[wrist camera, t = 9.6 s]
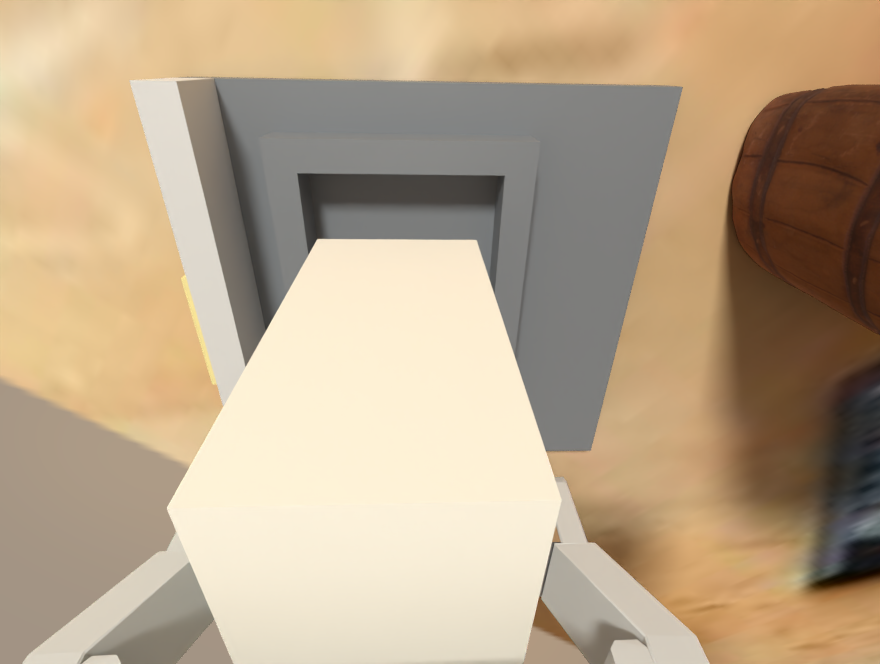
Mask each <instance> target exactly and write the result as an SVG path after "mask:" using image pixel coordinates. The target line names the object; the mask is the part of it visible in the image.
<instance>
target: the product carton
mask: <svg viewBox="0 0 880 664" xmlns="http://www.w3.org/2000/svg"><path fill="white" fill-rule="evenodd" d="M561 501H562V499H561V496H560V493H559V490H558V487H557V484H556V481H555V478H554V475H553V472H552V469H551V466H550V463H549V460H548V457H547V454H546V450H545V447H544V444H543V441H542V438H541V435H540V432H539V429H538V426H537V423H536V420H535V417H534V414H533V411H532V408H531V405H530V402H529V399H528V396H527V393H526V389H525V386H524V383H523V380H522V377H521V374H520V371H519V368H518V365H517V362H516V359H515V356H514V353H513V350H512V347H511V344H510V341H509V338H508V335H507V331H506V328H505V325H504V322H503V319H502V316H501V313H500V310H499V307H498V304H497V301H496V298H495V295H494V292H493V289H492V286H491V283H490V280H489V277H488V274H487V270H486V267H485V264H484V261H483V258H482V255H481V252H480V249H479V246H478V243H477V240H409V239H317V241H316V243H315V244H314V246H313V248H312V250H311V251H310V253H309V255H308V257H307V259H306V260H305V262H304V264H303V266H302V268H301V269H300V271H299V273H298V275H297V276H296V278H295V280H294V282H293V284H292V285H291V287H290V289H289V291H288V293H287V294H286V296H285V298H284V300H283V301H282V303H281V305H280V307H279V309H278V310H277V312H276V314H275V316H274V318H273V319H272V321H271V323H270V325H269V326H268V328H267V330H266V332H265V334H264V335H263V337H262V339H261V341H260V342H259V344H258V346H257V348H256V350H255V351H254V353H253V355H252V357H251V359H250V360H249V362H248V364H247V366H246V367H245V369H244V371H243V373H242V375H241V376H240V378H239V380H238V382H237V384H236V385H235V387H234V389H233V391H232V392H231V394H230V396H229V398H228V400H227V401H226V403H225V405H224V407H223V409H222V410H221V412H220V414H219V416H218V417H217V419H216V421H215V423H214V425H213V426H212V428H211V430H210V432H209V434H208V435H207V437H206V439H205V441H204V442H203V444H202V446H201V448H200V450H199V451H198V453H197V455H196V457H195V458H194V460H193V462H192V464H191V466H190V467H189V469H188V471H187V473H186V475H185V476H184V478H183V480H182V482H181V483H180V485H179V487H178V489H177V491H176V493H175V494H174V496H173V498H172V500H171V501H170V503H169V505H168V507H167V511H168V513H169V515H170V517H171V520H172V522H173V524H174V527H175V529H176V531H177V534H178V536H179V538H180V541H181V543H182V545H183V548H184V550H185V552H186V555H187V557H188V559H189V562H190V564H191V566H192V568H193V571H194V573H195V575H196V578H197V580H198V582H199V585H200V587H201V589H202V592H203V594H204V596H205V599H206V601H207V603H208V606H209V608H210V610H211V613H212V615H213V617H214V619H215V622H216V624H217V626H218V629H219V631H220V633H221V636H222V638H223V640H224V643H225V645H226V647H227V650H228V652H229V654H230V657H231V659H232V661H233V664H523V663H524V659H525V655H526V650H527V646H528V642H529V637H530V633H531V629H532V625H533V621H534V616H535V612H536V608H537V603H538V599H539V595H540V591H541V586H542V582H543V578H544V574H545V569H546V565H547V561H548V556H549V552H550V548H551V544H552V539H553V535H554V531H555V527H556V522H557V518H558V514H559V509H560V505H561Z"/></svg>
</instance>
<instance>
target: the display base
mask: <svg viewBox="0 0 880 664" xmlns="http://www.w3.org/2000/svg"><path fill="white" fill-rule="evenodd" d="M129 81H130V84H131V88H132V91H133V95H134V98H135V102H136V105H137V108H138V112H139V115H140V119H141V122H142V126H143V129H144V133H145V136H146V140H147V143H148V147H149V150H150V154H151V157H152V161H153V164H154V167H155V171H156V174H157V178H158V181H159V185H160V188H161V192H162V195H163V199H164V202H165V206H166V209H167V213H168V216H169V220H170V223H171V227H172V230H173V233H174V237H175V240H176V244H177V247H178V251H179V254H180V258H181V261H182V265H183V268H184V272H185V275H184V276H183V277H182V278H181V280H182V284H183V287H184V290H185V294H186V297H187V300H188V304H189V307H190V311H191V314H192V317H193V321H194V324H195V328H196V331H197V334H198V338H199V341H200V345H201V348H202V351H203V355H204V358H205V362H206V365H207V368H208V372H209V375H210V379H211V382H212V384H217V386H218V390H219V393H220V397H221V400H222V404H223V407H224V405H225V403H226V401H227V400H228V398H229V396H230V394H231V392H232V391H233V389H234V387H235V385H236V384H237V382H238V380H239V378H240V376H241V375H242V373H243V371H244V369H245V367H246V366H247V364H248V362H249V360H250V359H251V357H252V355H253V353H254V351H255V350H256V348H257V346H258V344H259V342H260V341H261V339H262V337H263V335H264V334H265V332H266V330H267V328H268V326H269V325H270V323H271V321H272V319H273V318H274V316H275V314H276V312H277V310H278V309H279V307H280V305H281V303H282V301H283V300H284V298H285V296H286V294H287V293H288V291H289V289H290V287H291V285H292V284H293V282H294V280H295V278H296V276H297V275H298V273H299V271H300V269H301V268H302V266H303V264H304V262H305V260H306V259H307V257H308V255H309V253H310V251H311V250H312V248H313V246H314V244H315V243H316V241H317V239H409V240H477V243H478V246H479V249H480V252H481V255H482V258H483V261H484V264H485V267H486V270H487V274H488V277H489V280H490V283H491V286H492V289H493V292H494V295H495V298H496V301H497V304H498V307H499V310H500V313H501V316H502V319H503V322H504V325H505V328H506V331H507V335H508V338H509V341H510V344H511V347H512V350H513V353H514V356H515V359H516V362H517V365H518V368H519V371H520V374H521V377H522V380H523V383H524V386H525V389H526V393H527V396H528V399H529V402H530V405H531V408H532V411H533V414H534V417H535V420H536V423H537V426H538V429H539V432H540V435H541V438H542V441H543V444H544V447H545V450H546V451H588V450H591V447H592V443H593V439H594V435H595V431H596V427H597V423H598V419H599V416H600V412H601V408H602V404H603V400H604V396H605V392H606V388H607V384H608V380H609V376H610V372H611V368H612V364H613V360H614V356H615V352H616V348H617V344H618V341H619V337H620V333H621V329H622V325H623V321H624V317H625V313H626V309H627V305H628V301H629V297H630V293H631V289H632V285H633V281H634V277H635V273H636V269H637V266H638V262H639V258H640V254H641V250H642V246H643V242H644V238H645V234H646V230H647V226H648V222H649V218H650V214H651V210H652V206H653V202H654V198H655V194H656V191H657V187H658V183H659V179H660V175H661V171H662V167H663V163H664V159H665V155H666V151H667V147H668V143H669V139H670V135H671V131H672V127H673V123H674V119H675V115H676V112H677V108H678V104H679V100H680V96H681V92H682V88H683V87H677V86H660V85H606V84H551V83H497V82H442V81H388V80H334V79H279V78H225V77H178V78H161V79H144V80H129Z"/></svg>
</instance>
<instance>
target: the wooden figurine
mask: <svg viewBox="0 0 880 664" xmlns="http://www.w3.org/2000/svg"><path fill="white" fill-rule="evenodd" d="M732 197H733V214H732V218H733V222H734V226H735V229H736V233H737V237H738V240H739V242H740V244H741V246H742V247H743V249H744V250H745V252H746V253H747V254H748V255H749V256H750V257H751V258H752V259H753V260H754V261H755V262H756V263H757V264H758V265H759V266H761V267H762V268H763V269H765V270H766V271H768V272H770V273H771V274H773V275H774V276H776V277H778V278H780V279H782V280H783V281H785V282H786V283H788V284H790V285H792V286H794V287H795V288H798V289H799V290H801V291H803V292H805V293H807V294H809V295H811V296H812V297H814V298H816V299H818V300H819V301H821V302H822V303H824V304H826V305H828V306H829V307H831V308H833V309H834V310H836V311H838V312H840V313H841V314H843V315H845V316H846V317H848V318H850V319H851V320H853V321H855V322H857V323H859V324H860V325H862V326H864V327H866V328H868V329H869V330H871V331H873V332H875V333H877V334H878V335H880V85H844V86H833V87H830V88H827V89H824V88H822V89H816V90H813V91H811V90H808V91H801V92H795V93H789V94H785V95H782V96H779V97H777V98H775V99H774V100H772V101H771V102H770V103H769V104H768V105H767V106H766V107H765V108H764V109H763V110H762V111H761V112H760V113H759V115H758V116H757V117H756V118H755V120H754V121H753V123H752V125H751V127H750V129H749V132H748V134H747V137H746V140H745V142H744V150H743V153H742V157H741V160H740V163H739V165H738V168H737V171H736V174H735V176H734V179H733V185H732Z"/></svg>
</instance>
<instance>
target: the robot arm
mask: <svg viewBox="0 0 880 664" xmlns="http://www.w3.org/2000/svg"><path fill="white" fill-rule="evenodd" d="M554 478H555V481H556V484H557V487H558V490H559V493H560V496H561V499H562V501H561V505H560V509H559V514H558V518H557V522H556V527H555V531H554V535H553V539H552V544H551V548H550V552H549V556H548V561H547V565H546V569H545V574H544V578H543V582H542V586H541V591H540V595H539V597H542V598H541V599H542V601H543V602H544V603H545V605H546V606H547V607H548V609H549V610H550V611H551V613H552V614H553V615H554V617H555V618H556V619H557V621H558V622H559V623H560V625H561V626H562V627H563V629H564V630H565V631H566V633H567V634H568V635H569V637H570V638H571V639H572V641H573V642H574V643H575V645H576V646H577V647H578V649H579V650H580V651H581V653H582V654H583V655H584V657H585V658H586V659H587V661H588V662H589V663H590V664H709V661H708V659H707V657H706V655H705V653H704V651H703V649H702V647H701V645H700V643H699V641H698V639H697V636H696V635H695V634H693V633H692V632H691V631H690V630H689V629H688V628H687V627H686V626H685V625H684V624H683V623H682V622H681V621H679V620H678V619H677V618H676V617H675V616H674V615H673V614H672V613H671V612H670V611H669V610H668V609H666V608H665V607H664V606H663V605H662V604H661V603H660V602H659V601H658V600H657V599H656V598H655V597H653V596H652V595H651V594H650V593H649V592H648V591H647V590H646V589H645V588H644V587H643V586H642V585H640V584H639V583H638V582H637V581H636V580H635V579H634V578H633V577H632V576H631V575H630V574H629V573H627V572H626V571H625V570H624V569H623V568H622V567H621V566H620V565H619V564H618V563H617V562H616V561H614V560H613V559H612V558H611V557H610V556H609V555H608V554H607V553H606V552H605V551H604V550H603V549H601V548H600V547H599V546H598V545H597V544H596V543H592V542H588V541H587V538H586V535H585V532H584V530H583V527H582V524H581V521H580V518H579V515H578V513H577V510H576V507H575V504H574V501H573V498H572V496H571V493H570V490H569V487H568V484H567V481H566V480H565V479H564V478H563V477H554ZM213 620H214V617H213V615H212V613H211V610H210V608H209V606H208V603H207V601H206V599H205V596H204V594H203V592H202V589H201V587H200V585H199V582H198V580H197V578H196V575H195V573H194V571H193V568H192V566H191V564H190V562H189V559H188V557H187V555H186V552H185V550H184V548H183V545H182V543H181V541H180V538H179V536H178V534H177V531H176V533H175V535H174V537H173V539H172V541H171V543H170V544H169V546H168V548H167V550H166V551H160V552H157V553H156V554H155V555H154V556H153V557H151V558H150V559H148V560H147V561H146V562H145V563H143V564H142V565H141V566H140V567H138V568H137V569H136V570H135V571H133V572H132V573H131V574H130V575H128V576H127V577H126V578H125V579H123V580H122V581H121V582H120V583H118V584H117V585H116V586H114V587H113V588H112V589H111V590H109V591H108V592H107V593H106V594H105V595H103V596H102V597H101V598H99V599H98V600H97V601H96V602H94V603H93V604H92V605H90V606H89V607H88V608H87V609H85V610H84V611H83V612H82V613H81V614H79V615H78V616H77V617H75V618H74V619H73V620H72V621H70V622H69V623H68V624H67V625H65V626H64V627H63V628H61V629H60V630H59V631H58V632H57V633H55V634H54V635H53V636H51V637H50V638H49V639H48V640H46V641H45V642H44V643H43V644H41V645H40V646H39V647H37V648H36V649H35V650H34V651H32V652H31V653H30V654H29V655H28V656H27V657H26V659H25V660H24V662H23V663H22V664H176V663H177V662H178V661H179V660H180V658H181V657H182V656H183V655H184V654H185V653H186V651H187V650H188V649H189V648H190V647H191V646H192V644H193V643H194V642H195V641H196V640H197V639H198V637H199V636H200V635H201V634H202V633H203V632H204V630H205V629H206V628H207V627H208V626H209V625H210V624H211V622H212V621H213Z"/></svg>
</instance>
